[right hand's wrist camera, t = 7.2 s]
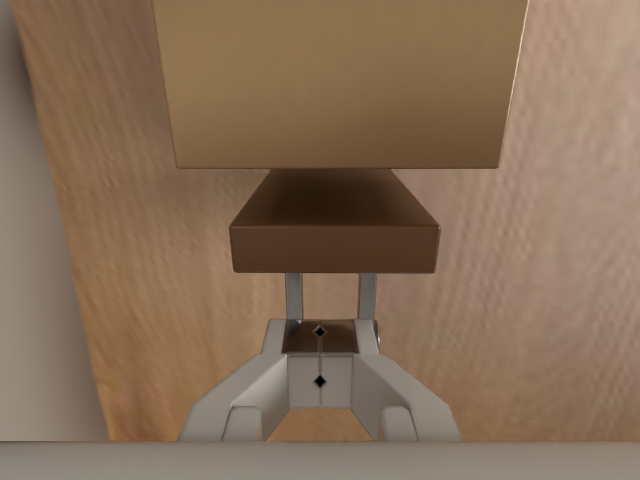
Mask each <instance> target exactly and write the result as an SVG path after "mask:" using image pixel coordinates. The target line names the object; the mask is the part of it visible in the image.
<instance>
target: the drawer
mask: <svg viewBox="0 0 640 480" xmlns="http://www.w3.org/2000/svg"><path fill="white" fill-rule="evenodd" d="M440 233H441V227H440V225H439V224H438V223H437V222H436V220H435V219H434V218H433V217H432V216H431V215H430V214H429V213H428V211H427V210H426V209H425V208H424V207H423V206H422V205H421V203H420V202H419V201H418V200H417V199H416V198H415V197H414V195H413V194H412V193H411V192H410V191H409V190H408V189H407V188H406V186H405V185H404V184H403V183H402V182H401V181H400V180H399V178H398V177H397V176H396V175H395V174H394V173H393V172H392V170H391V169H271V170H270V172H269V173H268V174H267V176H266V177H265V178H264V180H263V181H262V183H261V184H260V185H259V187H258V188H257V189H256V191H255V192H254V193H253V195H252V196H251V197H250V199H249V200H248V201H247V203H246V204H245V205H244V207H243V208H242V210H241V211H240V212H239V214H238V215H237V216H236V218H235V219H234V220H233V222H232V223H231V224H230V226H229V234H230V244H231V253H232V263H233V270H234V272H236V273H285V286H286V309H287V319H304V315H303V273H359V284H358V308H357V319H369V318H370V319H371V321H372V325H373V329H374V333H375V338H376V342H377V346H378V350H379V352H380V336H379V327H378V323H377V321H376V320H374V315H375V299H376V283H377V273H435V270H436V264H437V256H438V248H439V241H440Z"/></svg>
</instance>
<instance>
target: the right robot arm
mask: <svg viewBox="0 0 640 480" xmlns="http://www.w3.org/2000/svg"><path fill="white" fill-rule="evenodd" d="M292 408H348V409H351V411H352V412H353V414H354V415H355V416H356V418H357V419H358V420H359V422H360V423H361V424H362V426H363V427H364V428H365V430H366V431H367V432H368V434H369V435H370V436H371V438H372V439H373V440H374V441H267V439H268V438H269V437H270V435H271V434H272V433H273V431H274V430H275V429H276V427H277V426H278V425H279V423H280V422H281V421H282V419H283V418H284V417H285V415H286V414H287V413H288V411H289V409H292ZM0 480H640V441H463V440H462V437H461V435H460V432H459V430H458V428H457V425H456V423H455V420H454V418H453V416H452V413H451V411H450V408H449V406H448V404H446V403H445V402H444V401H443V400H441V399H440V398H439V397H438V396H436V395H435V394H434V393H433V392H431V391H430V390H429V389H428V388H426V387H425V386H424V385H423V384H421V383H420V382H419V381H418V380H416V379H415V378H414V377H413V376H411V375H410V374H409V373H408V372H406V371H405V370H404V369H403V368H401V367H400V366H399V365H398V364H396V363H395V362H394V361H392V360H391V359H390V358H389V357H387V356H386V355H385V354H379V350H378V346H377V342H376V338H375V333H374V329H373V325H372V321H371V319H370V318H369V319H345V320H320V319H270V320H269V321H268V324H267V329H266V333H265V337H264V342H263V346H262V350H261V354H255V355H254V356H253V357H251V358H250V359H249V360H247V361H246V362H245V363H244V364H242V365H241V366H240V367H239V368H237V369H236V370H235V371H234V372H232V373H231V374H230V375H229V376H227V377H226V378H225V379H224V380H222V381H221V382H220V383H219V384H217V385H216V386H215V387H213V388H212V389H211V390H210V391H208V392H207V393H206V394H205V395H203V396H202V397H201V398H200V399H198V400H197V401H196V402H195V403H193V404H192V406H191V409H190V411H189V413H188V416H187V418H186V421H185V423H184V425H183V428H182V430H181V432H180V435H179V437H178V440H177V441H0Z"/></svg>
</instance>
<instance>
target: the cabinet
mask: <svg viewBox="0 0 640 480" xmlns="http://www.w3.org/2000/svg"><path fill="white" fill-rule="evenodd" d="M529 1H530V0H151V3H152V10H153V17H154V23H155V30H156V36H157V43H158V50H159V56H160V63H161V70H162V76H163V83H164V89H165V96H166V103H167V109H168V116H169V122H170V129H171V136H172V142H173V149H174V156H175V162H176V167H177V168H179V169H496V168H499V166H500V161H501V155H502V150H503V144H504V139H505V133H506V128H507V122H508V117H509V111H510V106H511V100H512V95H513V89H514V84H515V78H516V73H517V67H518V62H519V56H520V51H521V45H522V40H523V34H524V29H525V23H526V18H527V12H528V7H529Z"/></svg>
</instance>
